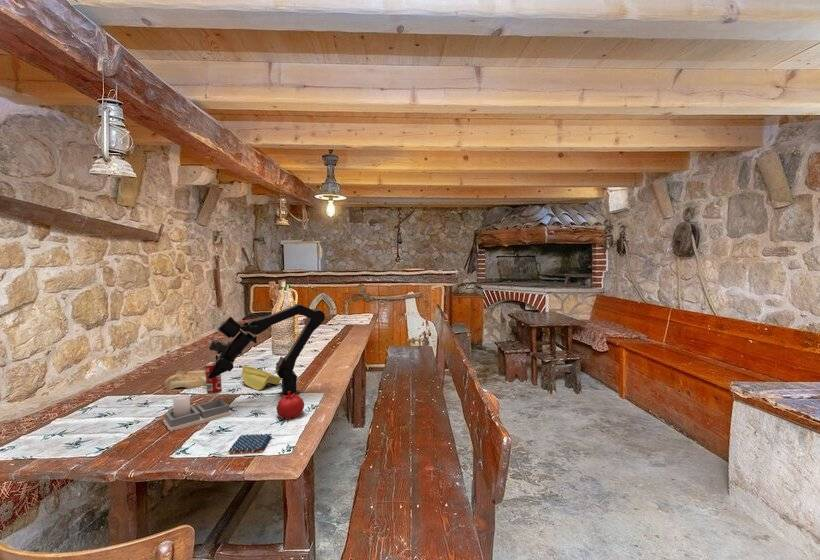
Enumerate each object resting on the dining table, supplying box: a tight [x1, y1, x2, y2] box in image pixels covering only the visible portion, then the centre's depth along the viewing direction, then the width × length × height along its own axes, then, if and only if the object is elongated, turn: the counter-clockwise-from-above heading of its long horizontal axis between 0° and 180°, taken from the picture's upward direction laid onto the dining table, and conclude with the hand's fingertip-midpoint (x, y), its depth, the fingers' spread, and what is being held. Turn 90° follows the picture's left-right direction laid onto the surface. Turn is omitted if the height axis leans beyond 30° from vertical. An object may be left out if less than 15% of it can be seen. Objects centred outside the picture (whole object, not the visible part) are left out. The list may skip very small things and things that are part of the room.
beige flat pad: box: [163, 369, 207, 390], centre depth 187 cm, size 24×24×5 cm
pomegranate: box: [276, 391, 305, 420], centre depth 147 cm, size 10×10×9 cm
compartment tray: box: [163, 394, 232, 432], centre depth 144 cm, size 20×10×9 cm, turn 133°
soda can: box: [204, 361, 223, 396], centre depth 155 cm, size 5×5×12 cm
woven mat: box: [228, 433, 273, 455], centre depth 124 cm, size 10×11×2 cm
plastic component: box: [241, 365, 282, 391], centre depth 183 cm, size 20×7×10 cm
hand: (209, 376), depth 155 cm, fingers closed on soda can, 5 cm apart
